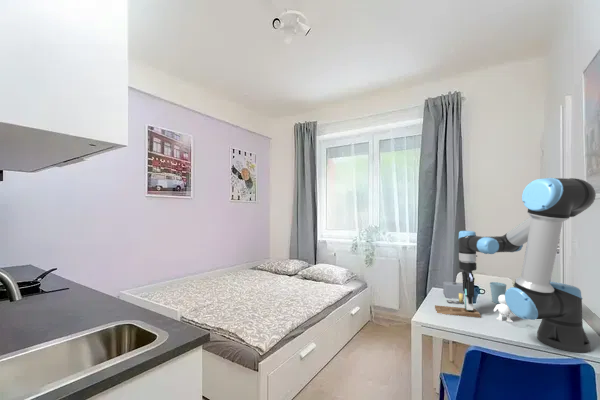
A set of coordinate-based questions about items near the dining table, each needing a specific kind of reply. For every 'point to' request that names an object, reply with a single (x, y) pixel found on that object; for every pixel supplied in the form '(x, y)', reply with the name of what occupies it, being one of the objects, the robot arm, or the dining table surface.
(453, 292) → the housing
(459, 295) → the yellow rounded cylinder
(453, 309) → the socket board
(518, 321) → the dining table surface
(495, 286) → the cup
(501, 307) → the figurine
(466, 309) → the peg
